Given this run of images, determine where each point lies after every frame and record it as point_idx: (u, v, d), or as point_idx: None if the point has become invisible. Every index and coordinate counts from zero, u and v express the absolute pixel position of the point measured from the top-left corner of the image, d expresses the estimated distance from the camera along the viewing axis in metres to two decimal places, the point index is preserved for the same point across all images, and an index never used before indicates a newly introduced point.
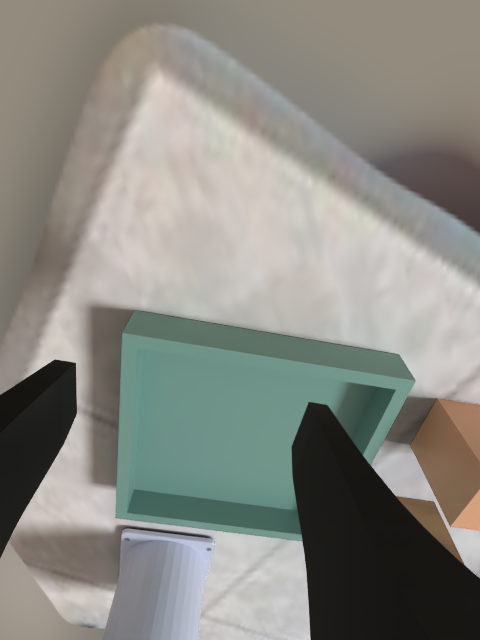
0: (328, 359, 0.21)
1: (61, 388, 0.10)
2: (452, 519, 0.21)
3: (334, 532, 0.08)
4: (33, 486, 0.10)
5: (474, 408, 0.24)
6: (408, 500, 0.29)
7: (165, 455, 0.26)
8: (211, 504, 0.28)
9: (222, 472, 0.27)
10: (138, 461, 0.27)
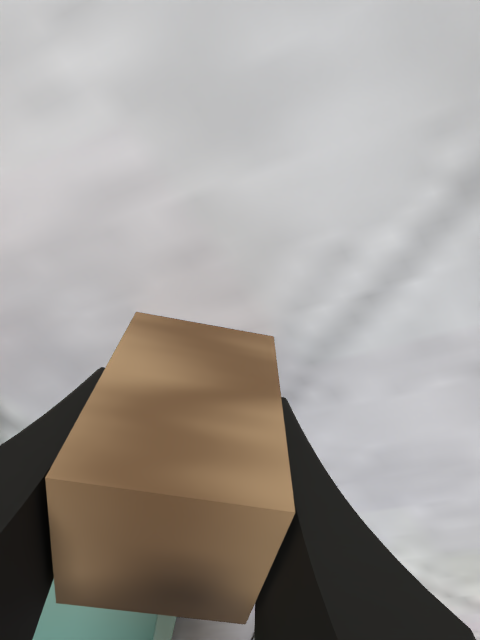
0: None
1: None
2: None
3: None
4: None
5: None
6: None
7: (78, 635, 0.21)
8: None
9: None
10: None
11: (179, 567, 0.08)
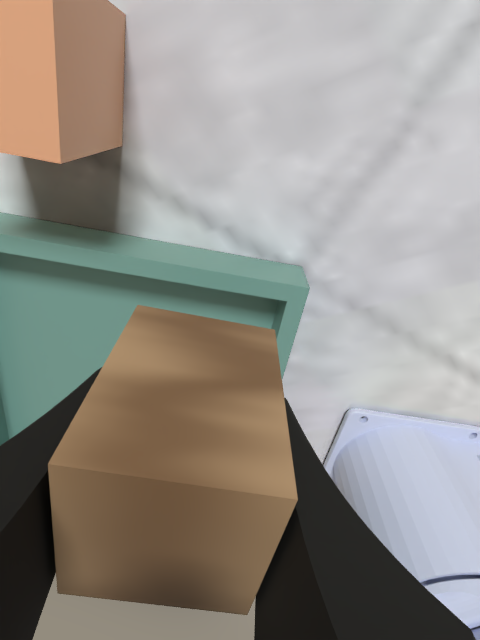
0: None
1: None
2: (47, 159, 0.10)
3: None
4: None
5: None
6: None
7: None
8: None
9: None
10: None
11: (181, 556, 0.08)
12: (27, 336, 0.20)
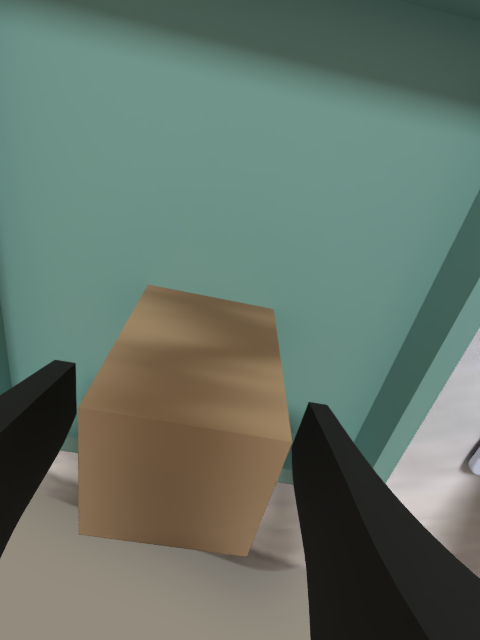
0: None
1: (61, 388, 0.10)
2: None
3: (334, 532, 0.08)
4: (33, 486, 0.10)
5: None
6: None
7: None
8: (416, 333, 0.13)
9: (328, 303, 0.13)
10: None
11: (190, 496, 0.09)
12: (49, 164, 0.11)
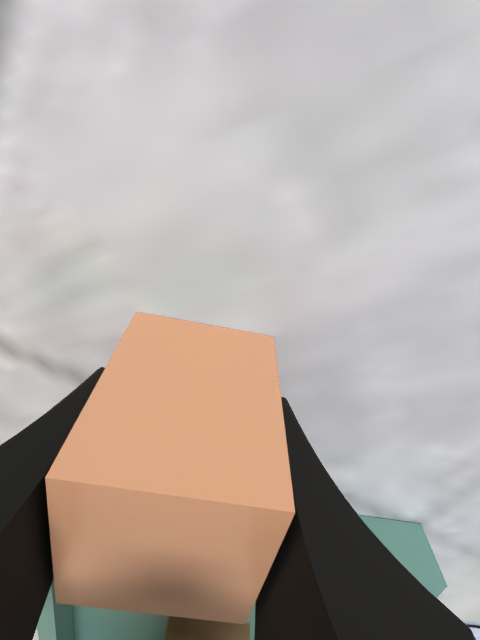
0: None
1: None
2: None
3: None
4: None
5: None
6: (163, 638, 0.21)
7: None
8: None
9: None
10: None
11: None
12: None
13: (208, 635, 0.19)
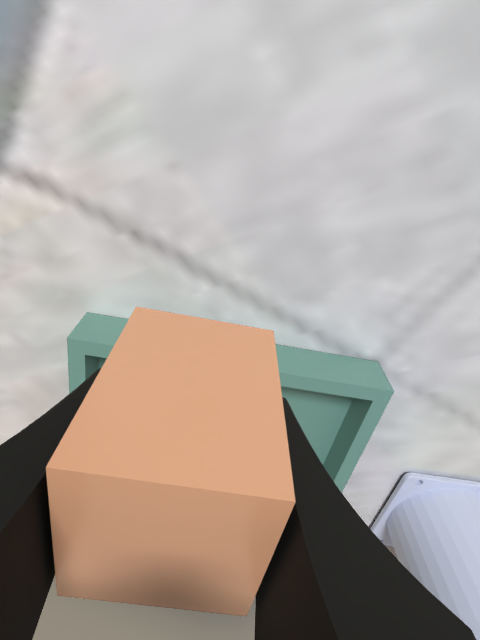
0: None
1: None
2: None
3: None
4: None
5: None
6: None
7: None
8: None
9: None
10: None
11: None
12: None
13: None
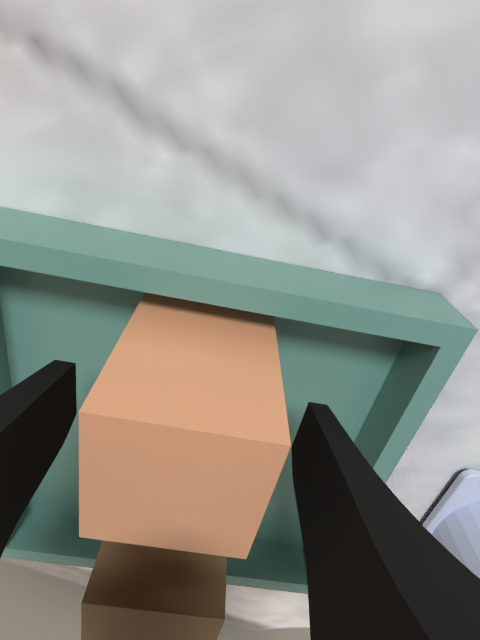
0: None
1: (61, 388, 0.10)
2: None
3: (334, 532, 0.08)
4: (33, 486, 0.10)
5: None
6: None
7: None
8: None
9: None
10: None
11: None
12: None
13: None
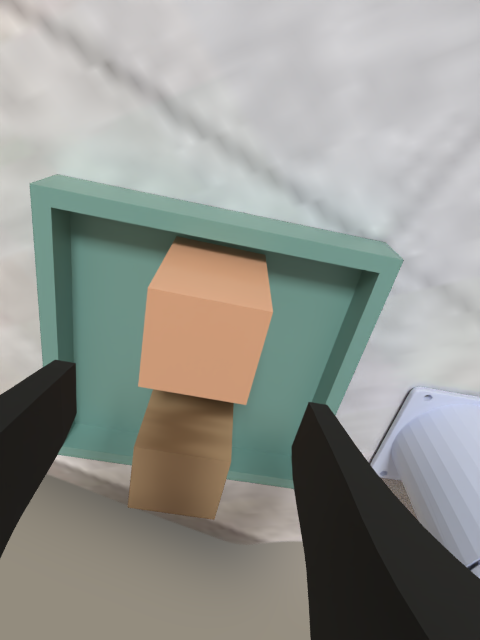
0: None
1: (61, 388, 0.10)
2: None
3: (334, 532, 0.08)
4: (33, 486, 0.10)
5: None
6: None
7: (235, 425, 0.24)
8: (318, 393, 0.22)
9: (266, 376, 0.22)
10: (245, 447, 0.25)
11: (184, 487, 0.18)
12: (108, 308, 0.20)
13: None
